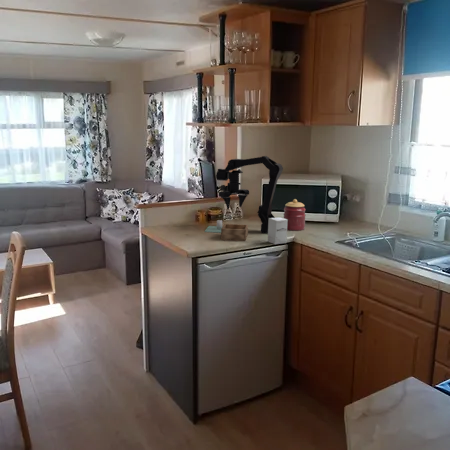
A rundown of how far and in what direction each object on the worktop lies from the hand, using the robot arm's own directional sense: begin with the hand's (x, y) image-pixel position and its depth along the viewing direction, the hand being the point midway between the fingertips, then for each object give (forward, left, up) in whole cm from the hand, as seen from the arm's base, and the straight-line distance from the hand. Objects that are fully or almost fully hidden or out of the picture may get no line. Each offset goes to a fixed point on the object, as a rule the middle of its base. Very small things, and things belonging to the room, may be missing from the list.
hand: (234, 207), depth 276 cm
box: (-3, +22, -13) cm, 25 cm away
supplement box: (-26, +28, -13) cm, 40 cm away
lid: (+8, +4, -13) cm, 16 cm away
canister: (-35, -8, -13) cm, 38 cm away
